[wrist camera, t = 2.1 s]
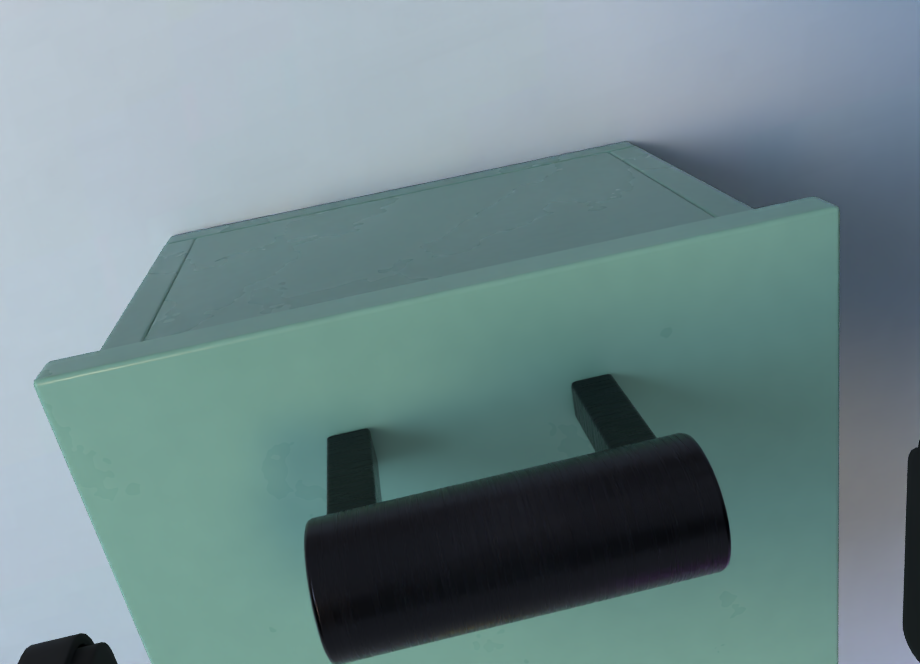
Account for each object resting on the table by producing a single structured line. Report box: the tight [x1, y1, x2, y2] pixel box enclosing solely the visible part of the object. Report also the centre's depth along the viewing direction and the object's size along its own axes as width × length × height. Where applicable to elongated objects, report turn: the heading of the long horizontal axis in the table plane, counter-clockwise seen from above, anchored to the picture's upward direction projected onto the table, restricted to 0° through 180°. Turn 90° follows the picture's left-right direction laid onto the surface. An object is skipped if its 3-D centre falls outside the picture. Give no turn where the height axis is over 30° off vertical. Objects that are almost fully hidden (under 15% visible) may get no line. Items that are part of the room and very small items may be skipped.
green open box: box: [101, 142, 753, 350], centre depth 22 cm, size 16×13×10 cm
